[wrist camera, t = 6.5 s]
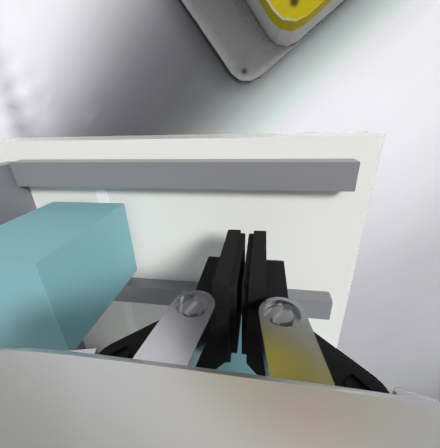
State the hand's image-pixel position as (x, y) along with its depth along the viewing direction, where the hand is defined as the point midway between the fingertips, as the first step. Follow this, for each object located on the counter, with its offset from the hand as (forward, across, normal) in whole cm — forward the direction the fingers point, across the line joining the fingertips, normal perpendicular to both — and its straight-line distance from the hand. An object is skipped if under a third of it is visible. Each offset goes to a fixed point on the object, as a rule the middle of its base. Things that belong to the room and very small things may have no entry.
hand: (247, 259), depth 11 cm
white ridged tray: (+4, +5, +7) cm, 9 cm away
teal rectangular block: (+1, +8, 0) cm, 8 cm away
